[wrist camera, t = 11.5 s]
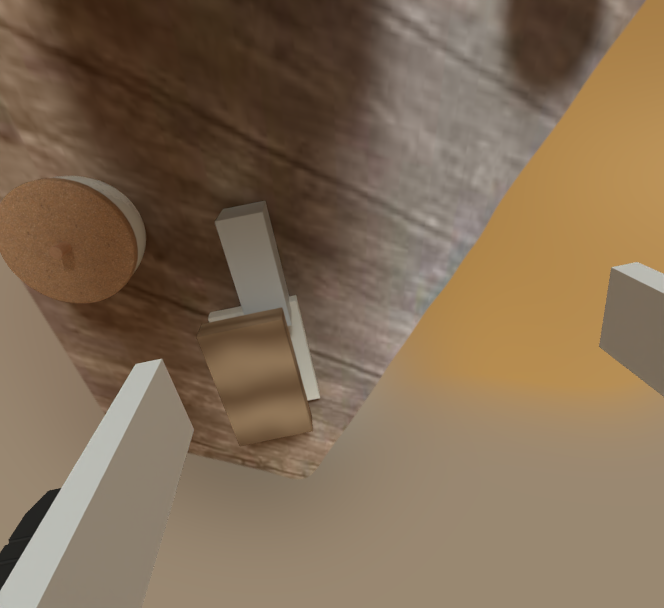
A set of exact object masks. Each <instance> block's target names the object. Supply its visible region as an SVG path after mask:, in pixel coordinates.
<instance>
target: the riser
mask: <svg viewBox="0 0 664 608" xmlns="http://www.w3.org/2000/svg"><path fill="white" fill-rule="evenodd" d="M215 225H216V228H217V231H218V234H219V237H220V240H221V243H222V247H223V250H224V253H225V256H226V259H227V262H228V266H229V269H230V272H231V275H232V278H233V281H234V285H235V288H236V291H237V294H238V297H239V300H240V304H241V307H242V310H243V313H244V315H247V314H252V313H257V312H262V311H266V310H271V309H276V308H281V307H282V308H283V311H284V315H285V319H286V322H287V326H290V325H292V320H291V306H290V302H289V293H288V289H287V285H286V281H285V277H284V273H283V269H282V265H281V261H280V257H279V253H278V249H277V245H276V241H275V237H274V233H273V229H272V225H271V221H270V217H269V213H268V209H267V205H266V201H261V202H256V203H251V204H246V205H241V206H236V207H231V208H226V209H223V210H222V211H221V213H220V214H219V216H218V217H217V219H216V220H215Z"/></svg>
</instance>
